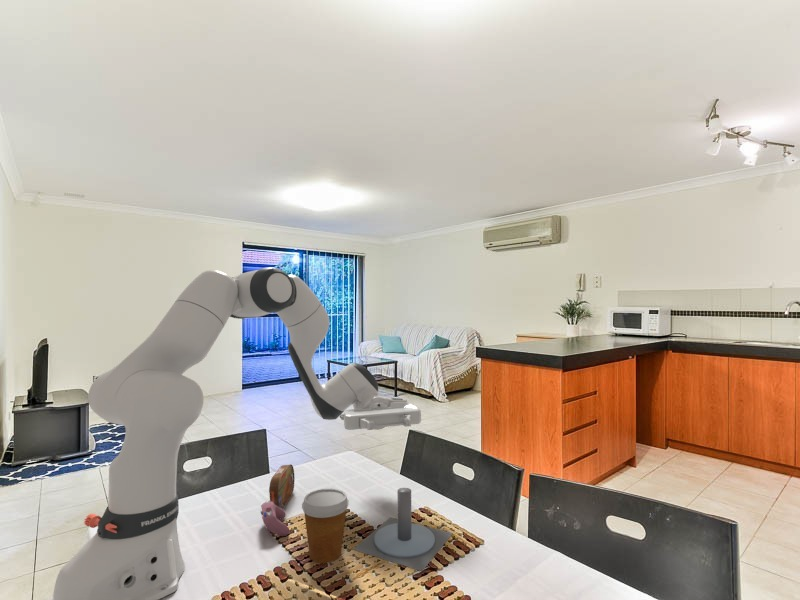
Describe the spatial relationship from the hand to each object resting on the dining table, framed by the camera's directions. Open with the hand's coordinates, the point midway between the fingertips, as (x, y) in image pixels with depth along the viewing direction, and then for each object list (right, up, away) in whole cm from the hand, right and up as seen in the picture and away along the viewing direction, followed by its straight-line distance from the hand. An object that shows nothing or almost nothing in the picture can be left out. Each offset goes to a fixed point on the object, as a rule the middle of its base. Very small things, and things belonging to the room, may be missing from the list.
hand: (389, 424), depth 106 cm
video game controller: (-27, -23, -6) cm, 35 cm away
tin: (-29, -23, +8) cm, 38 cm away
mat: (+3, -22, -12) cm, 25 cm away
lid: (+3, -22, -12) cm, 25 cm away
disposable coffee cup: (-13, -22, -17) cm, 31 cm away
